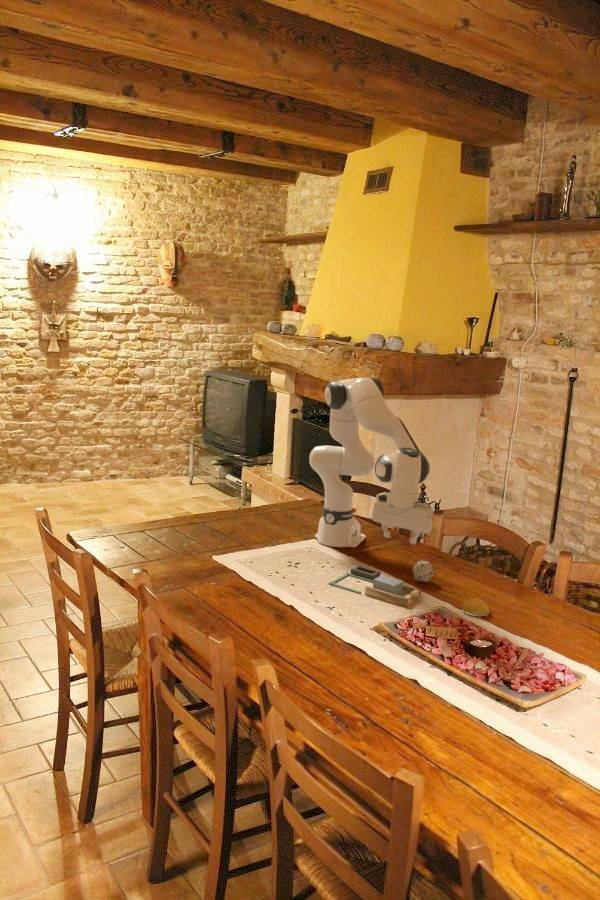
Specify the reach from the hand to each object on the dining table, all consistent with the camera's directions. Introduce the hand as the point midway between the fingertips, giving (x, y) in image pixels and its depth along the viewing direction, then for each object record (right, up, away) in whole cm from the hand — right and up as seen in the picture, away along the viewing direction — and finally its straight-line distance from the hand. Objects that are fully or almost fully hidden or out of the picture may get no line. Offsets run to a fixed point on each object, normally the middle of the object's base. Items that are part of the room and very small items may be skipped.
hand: (399, 540), depth 238 cm
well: (-9, -15, +24) cm, 30 cm away
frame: (-14, -17, +15) cm, 27 cm away
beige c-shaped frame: (-1, -19, +8) cm, 21 cm away
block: (-3, -19, +9) cm, 21 cm away
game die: (+11, -18, +22) cm, 30 cm away
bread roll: (+24, -23, -1) cm, 34 cm away
